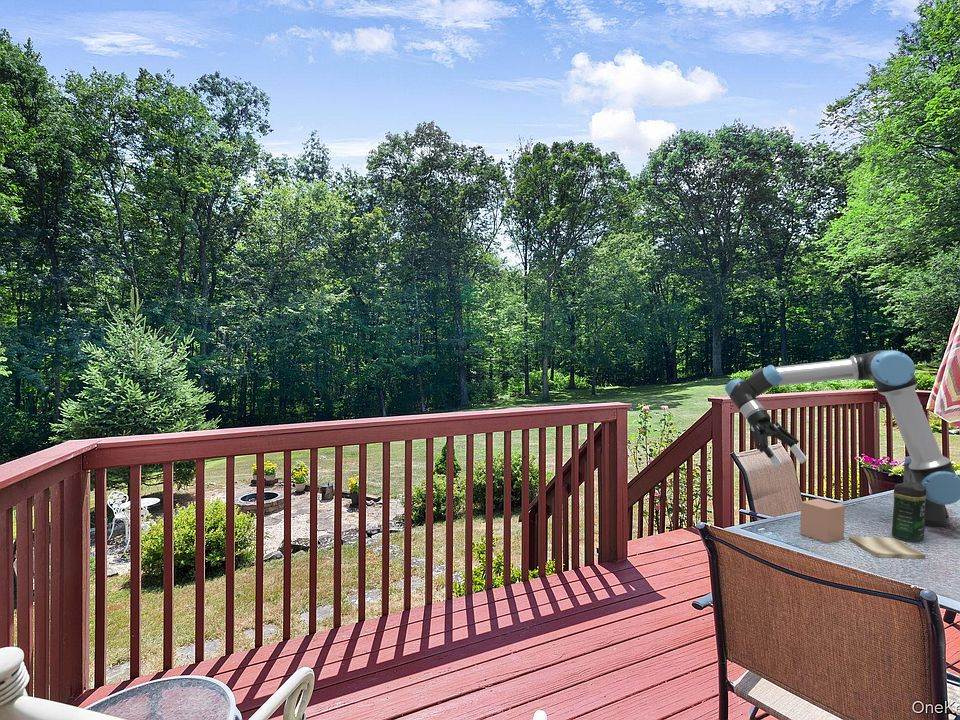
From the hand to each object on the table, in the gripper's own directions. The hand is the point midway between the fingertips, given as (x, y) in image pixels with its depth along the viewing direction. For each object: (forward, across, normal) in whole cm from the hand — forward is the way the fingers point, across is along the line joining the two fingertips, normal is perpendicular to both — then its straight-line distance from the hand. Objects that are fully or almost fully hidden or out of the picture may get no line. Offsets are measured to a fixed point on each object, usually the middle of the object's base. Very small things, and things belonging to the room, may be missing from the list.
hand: (791, 463), depth 192 cm
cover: (+24, 0, -8) cm, 25 cm away
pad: (+35, -8, +3) cm, 36 cm away
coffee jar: (+33, -25, +2) cm, 42 cm away
